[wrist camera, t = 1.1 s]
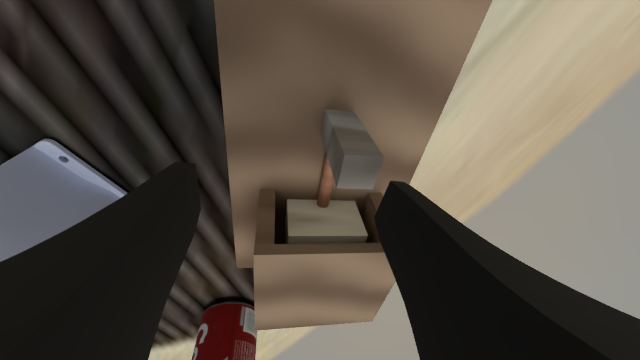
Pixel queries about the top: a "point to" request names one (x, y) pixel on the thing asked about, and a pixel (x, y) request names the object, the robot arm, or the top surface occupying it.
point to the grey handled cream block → (348, 172)
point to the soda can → (227, 332)
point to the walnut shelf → (306, 127)
